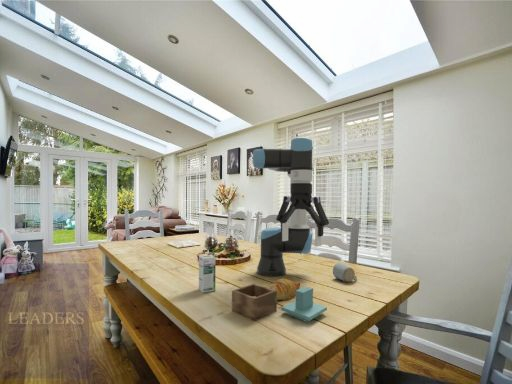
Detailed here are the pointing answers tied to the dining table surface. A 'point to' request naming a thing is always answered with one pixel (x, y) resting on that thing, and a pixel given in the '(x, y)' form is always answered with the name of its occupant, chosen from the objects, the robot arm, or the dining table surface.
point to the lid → (304, 305)
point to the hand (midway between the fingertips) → (300, 243)
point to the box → (254, 301)
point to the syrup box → (207, 273)
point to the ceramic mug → (344, 272)
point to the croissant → (285, 288)
